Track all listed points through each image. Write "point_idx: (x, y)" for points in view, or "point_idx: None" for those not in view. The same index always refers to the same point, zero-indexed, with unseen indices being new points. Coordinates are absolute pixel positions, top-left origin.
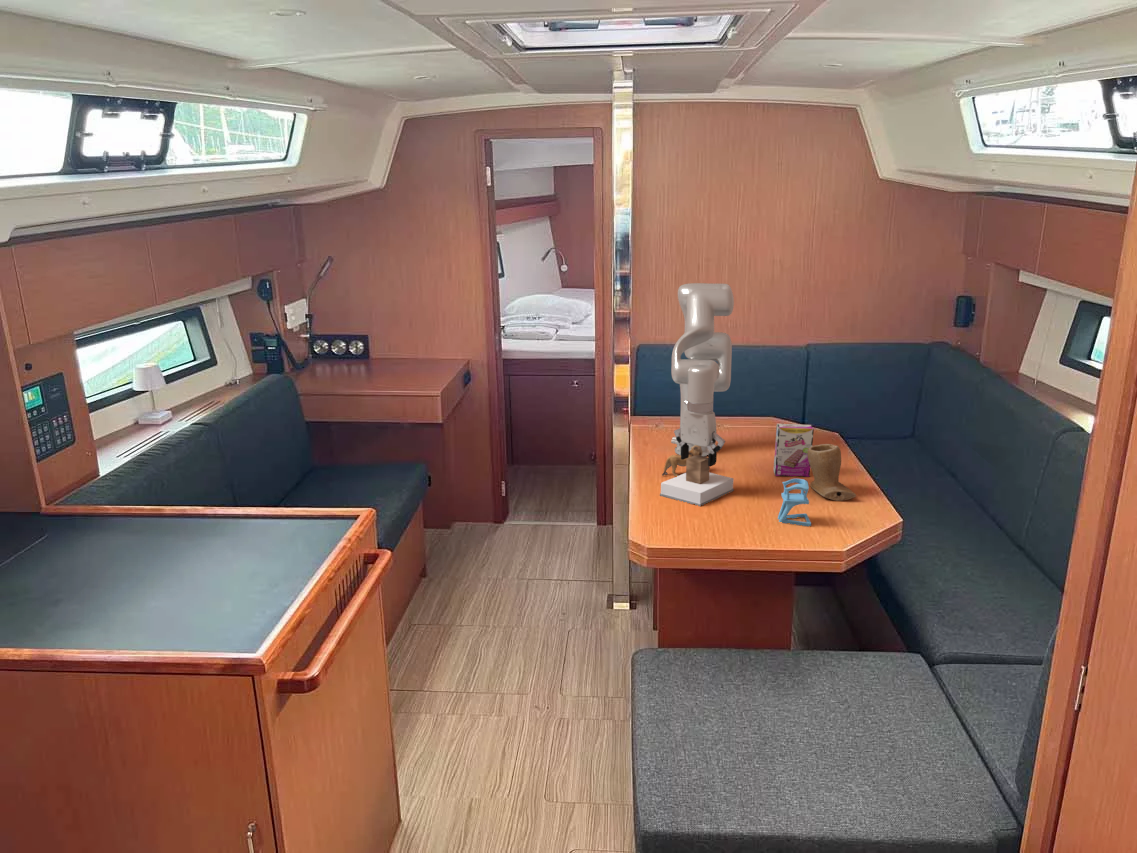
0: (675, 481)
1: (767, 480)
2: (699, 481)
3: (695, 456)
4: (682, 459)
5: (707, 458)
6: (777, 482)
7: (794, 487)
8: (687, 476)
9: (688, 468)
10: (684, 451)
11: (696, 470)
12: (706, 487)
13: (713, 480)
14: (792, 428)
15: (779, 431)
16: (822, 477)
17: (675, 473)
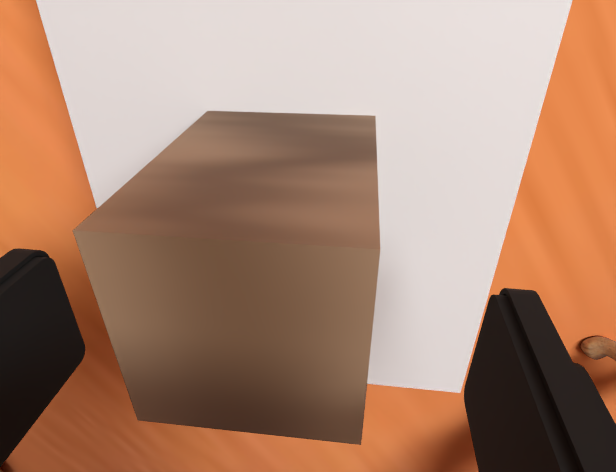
0: (463, 15)
1: (171, 464)
2: (204, 119)
3: (322, 396)
4: (504, 290)
5: (143, 397)
6: (128, 461)
7: None
8: (356, 132)
9: (338, 168)
10: (521, 425)
11: (208, 163)
12: (99, 65)
13: None
14: None
15: None
16: None
17: (610, 354)
